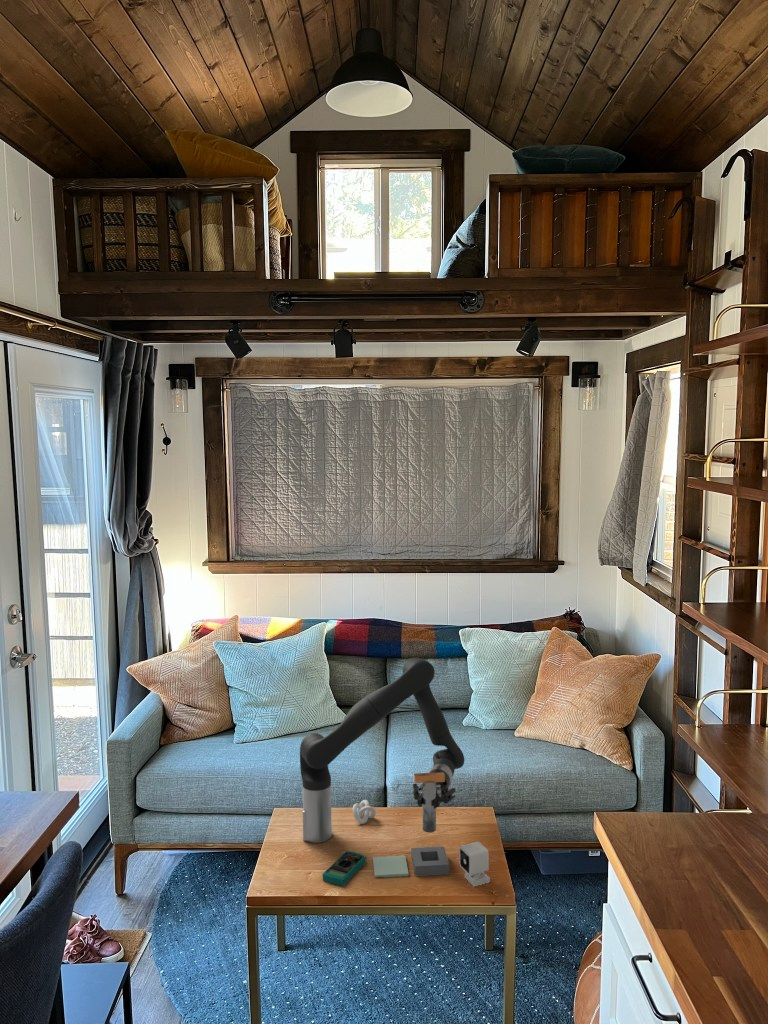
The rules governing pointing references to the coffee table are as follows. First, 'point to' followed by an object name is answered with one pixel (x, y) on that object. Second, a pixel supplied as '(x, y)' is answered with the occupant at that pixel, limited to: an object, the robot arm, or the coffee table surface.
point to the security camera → (474, 863)
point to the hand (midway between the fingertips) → (427, 804)
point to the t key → (429, 797)
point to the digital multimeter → (344, 868)
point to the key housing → (429, 861)
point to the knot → (363, 811)
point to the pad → (390, 866)
